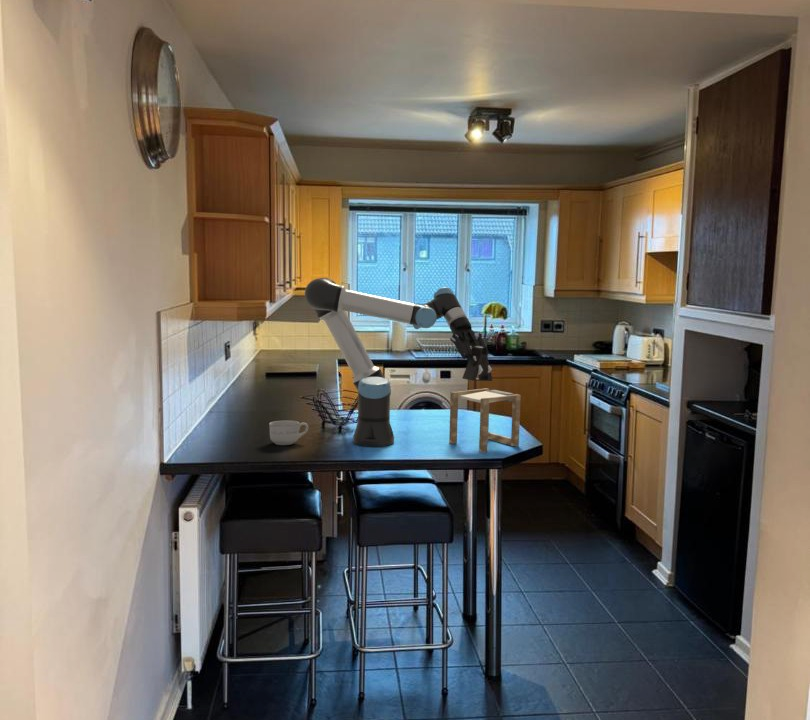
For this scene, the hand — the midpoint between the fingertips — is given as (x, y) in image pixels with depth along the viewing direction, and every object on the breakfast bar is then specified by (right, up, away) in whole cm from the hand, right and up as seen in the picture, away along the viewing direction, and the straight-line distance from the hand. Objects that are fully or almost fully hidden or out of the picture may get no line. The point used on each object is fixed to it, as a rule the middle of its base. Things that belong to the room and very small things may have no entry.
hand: (484, 372), depth 256 cm
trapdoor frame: (+1, -27, +9) cm, 28 cm away
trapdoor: (+2, -11, +8) cm, 14 cm away
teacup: (-71, -26, +5) cm, 75 cm away
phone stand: (-2, -3, +3) cm, 5 cm away
